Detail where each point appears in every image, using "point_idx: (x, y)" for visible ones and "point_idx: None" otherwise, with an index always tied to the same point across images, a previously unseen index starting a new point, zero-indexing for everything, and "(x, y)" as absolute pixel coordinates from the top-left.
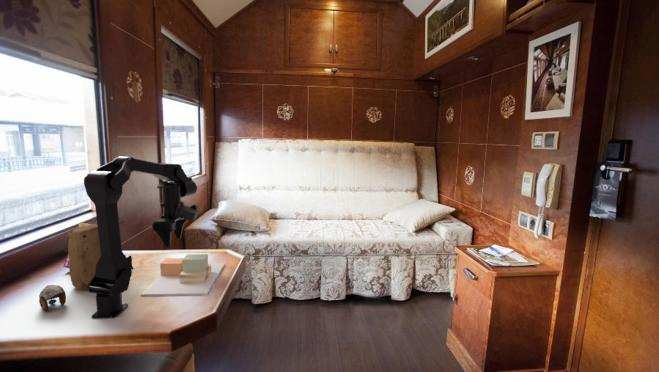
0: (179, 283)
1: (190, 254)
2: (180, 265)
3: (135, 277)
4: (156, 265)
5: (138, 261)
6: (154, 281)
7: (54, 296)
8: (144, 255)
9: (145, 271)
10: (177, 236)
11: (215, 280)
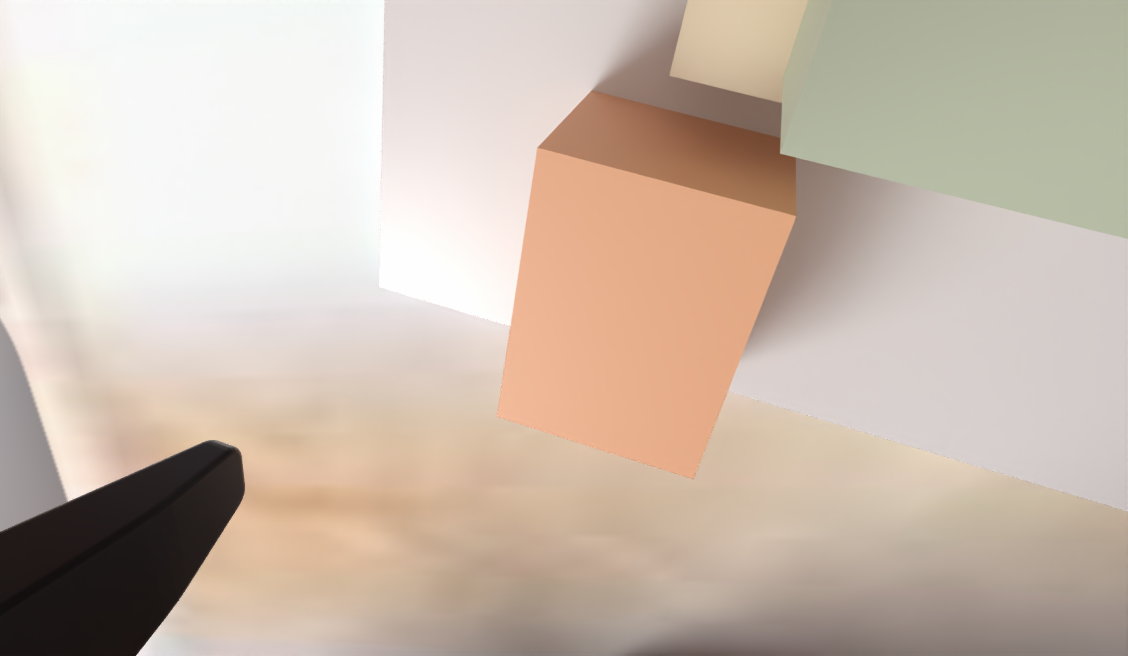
0: None
1: (823, 69)
2: (790, 209)
3: (635, 541)
4: (371, 403)
5: (281, 519)
6: (863, 424)
7: None
8: None
9: (509, 478)
10: (205, 535)
11: None
